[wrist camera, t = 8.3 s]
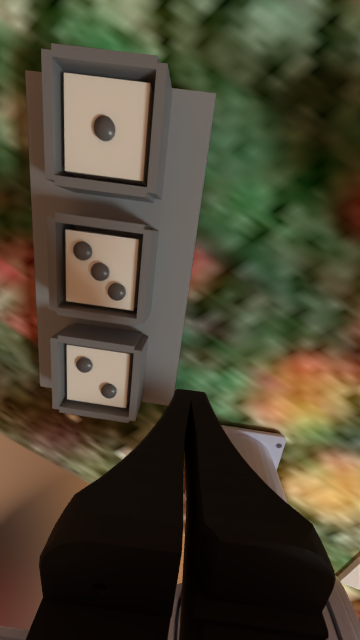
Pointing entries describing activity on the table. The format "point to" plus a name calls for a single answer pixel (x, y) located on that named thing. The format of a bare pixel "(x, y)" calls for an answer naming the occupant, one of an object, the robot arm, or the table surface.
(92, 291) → the three pip button
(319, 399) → the table surface
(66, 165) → the one pip button
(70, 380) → the two pip button
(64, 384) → the button panel
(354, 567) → the photo frame
